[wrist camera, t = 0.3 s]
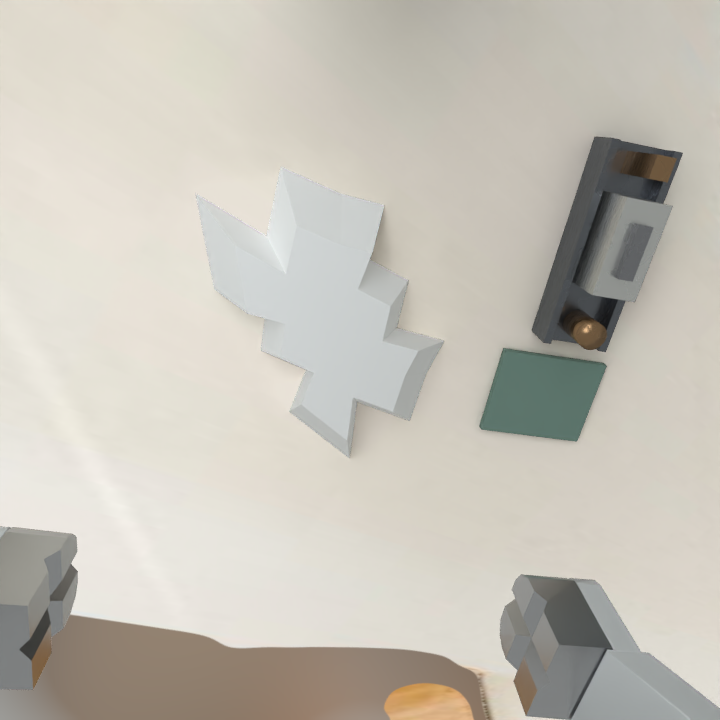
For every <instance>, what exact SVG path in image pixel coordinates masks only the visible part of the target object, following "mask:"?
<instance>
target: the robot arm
mask: <svg viewBox="0 0 720 720" xmlns="http://www.w3.org/2000/svg"><path fill="white" fill-rule="evenodd" d="M76 553H77V537H76V536H75V535H74V534H70V533H61V532H52V531H43V530H35V529H26V528H17V527H12V528H10V527H2V526H0V689H12V690H33V689H34V687H35V685H36V683H37V681H38V679H39V677H40V675H41V673H42V671H43V669H44V667H45V665H46V663H47V661H48V659H49V657H50V655H51V653H52V645H51V637H52V636H54V635H55V634H56V633H58V632H59V631H61V630H62V629H63V628H64V626H65V624H66V622H67V620H68V617H69V615H70V613H71V610H72V606H73V603H74V600H75V597H76V590H77V583H78V571H77V570H76V569H75V568H74V567H73V566H72V564H71V563H72V561H73V559H74V557H75V555H76ZM512 591H513V594H514V596H515V599H514V600H513V601H512V602H510V603H509V604H508V605H506V606H505V608H504V611H503V614H502V617H501V620H500V639H501V645H502V649H503V652H504V655H505V658H506V659H507V660H508V661H509V662H510V663H511V664H512V665H513V666H514V667H515V668H516V669H517V673H516V676H515V679H514V684H515V687H516V689H517V692H518V695H519V698H520V701H521V703H522V706H523V709H524V712H525V715H526V716H531V717H543V718H555V719H567V720H720V708H719V707H717V706H716V705H715V704H714V703H712V702H711V701H710V700H708V699H707V698H706V697H705V696H703V695H702V694H701V693H700V692H698V691H697V690H696V689H694V688H693V687H692V686H691V685H689V684H688V683H687V682H685V681H684V680H683V679H682V678H680V677H679V676H678V675H677V674H675V673H674V672H673V671H671V670H670V669H669V668H668V667H666V666H665V665H664V664H663V663H661V662H660V661H659V660H657V659H656V658H655V657H654V656H652V655H651V654H650V653H646V652H641V651H640V649H639V648H638V646H637V644H636V643H635V641H634V639H633V638H632V636H631V634H630V633H629V631H628V629H627V628H626V626H625V625H624V623H623V621H622V620H621V618H620V616H619V615H618V613H617V611H616V610H615V608H614V607H613V605H612V603H611V602H610V600H609V598H608V597H607V595H606V593H605V592H604V590H603V588H602V587H601V585H600V584H599V583H597V582H596V581H595V580H587V579H573V578H569V579H567V578H558V577H546V576H533V575H520V576H519V577H518V578H517V579H516V580H515V583H514V585H513V587H512Z"/></svg>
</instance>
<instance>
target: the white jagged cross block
mask: <svg viewBox="0 0 720 720" xmlns="http://www.w3.org/2000/svg"><path fill="white" fill-rule="evenodd" d="M195 194H196V193H195ZM196 200H197V205H198V210H199V215H200V220H201V225H202V230H203V235H204V240H205V245H206V250H207V255H208V260H209V265H210V270H211V275H212V280H213V285H214V289H215V290H216V291H217V292H219V293H220V294H221V295H223V296H224V297H226V298H227V299H228V300H230V301H231V302H232V303H234V304H235V305H236V306H238V307H239V308H240V309H242V310H243V311H244V312H246V313H247V314H251V315H255V316H258V317H262V318H265V320H264V328H263V336H262V344H261V351H263V352H266V353H268V354H270V355H273V356H275V357H277V358H280V359H282V360H284V361H286V362H289V363H291V364H293V365H296V366H298V367H300V368H303V369H305V370H306V371H305V373H304V376H303V378H302V381H301V383H300V386H299V388H298V391H297V393H296V396H295V398H294V401H293V403H292V406H291V408H290V411H289V412H290V413H292V414H293V415H294V416H296V417H297V418H298V419H299V420H301V421H302V422H303V423H305V424H306V425H307V426H308V427H310V428H311V429H312V430H314V431H315V432H316V433H317V434H319V435H320V436H321V437H323V438H324V439H325V440H326V441H328V442H329V443H330V444H332V445H333V446H334V447H335V448H337V449H338V450H339V451H341V452H342V453H343V454H344V455H346V456H347V457H348V458H350V452H351V444H352V437H353V430H354V422H355V415H356V408H357V402H359V403H361V404H364V405H367V406H370V407H372V408H375V409H378V410H381V411H383V412H386V413H389V414H392V415H394V416H397V417H400V418H403V419H405V420H408V421H410V418H411V415H412V413H413V410H414V407H415V404H416V401H417V398H418V396H419V393H420V390H421V387H422V384H423V381H424V379H425V376H426V373H427V371H428V370H429V368H430V366H431V364H432V362H433V360H434V359H435V357H436V355H437V353H438V351H439V350H440V348H441V346H442V344H443V342H444V340H440V339H436V338H433V337H429V336H425V335H422V334H418V333H414V332H411V331H407V330H403V329H400V328H397V325H398V321H399V317H400V313H401V309H402V305H403V301H404V297H405V293H406V289H407V285H408V281H409V280H407V279H406V278H404V277H402V276H400V275H398V274H396V273H394V272H392V271H390V270H389V269H387V268H385V267H383V266H381V265H379V264H377V263H375V262H374V261H372V260H370V257H371V255H372V252H373V248H374V245H375V241H376V237H377V233H378V229H379V225H380V221H381V217H382V213H383V209H384V206H385V205H382V204H379V203H375V202H371V201H367V200H363V199H359V198H356V197H352V196H348V195H344V194H341V193H339V192H337V191H334V190H332V189H330V188H328V187H325V186H323V185H321V184H319V183H317V182H314V181H312V180H310V179H308V178H305V177H303V176H301V175H299V174H297V173H294V172H292V171H290V170H288V169H285V168H283V167H281V168H280V173H279V177H278V182H277V187H276V192H275V197H274V202H273V207H272V211H271V216H270V221H269V226H268V231H267V235H265V234H263V233H262V232H260V231H258V230H257V229H255V228H253V227H252V226H250V225H248V224H247V223H245V222H243V221H242V220H240V219H238V218H237V217H235V216H233V215H232V214H230V213H228V212H227V211H225V210H223V209H221V208H220V207H218V206H216V205H215V204H213V203H211V202H210V201H208V200H206V199H205V198H203V197H201V196H200V195H198V194H196Z"/></svg>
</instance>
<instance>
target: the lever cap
mask: <svg viewBox="0 0 720 720" xmlns="http://www.w3.org/2000/svg"><path fill="white" fill-rule="evenodd" d="M672 207H673V206H671V205H667V204H663V203H659V202H655V201H651V200H648V199H644V198H639V197H634V196H629V195H624V194H619V193H613V192H608V191H603V193H602V196H601V199H600V202H599V205H598V208H597V211H596V214H595V216H594V219H593V222H592V225H591V228H590V231H589V234H588V237H587V240H586V243H585V246H584V248H583V251H582V254H581V257H580V260H579V263H578V266H577V269H576V272H575V275H574V277H573V280H572V282H573V283H574V284H576V285H577V286H579V287H581V288H582V289H584V290H585V291H587V292H588V293H590V294H591V295H595V296H601V297H607V298H613V299H619V300H625V301H631V302H635V301H636V298H637V296H638V293H639V290H640V288H641V285H642V283H643V280H644V278H645V275H646V273H647V270H648V268H649V265H650V263H651V260H652V258H653V255H654V253H655V250H656V247H657V245H658V242H659V240H660V237H661V235H662V232H663V230H664V227H665V225H666V222H667V220H668V217H669V215H670V212H671V210H672Z"/></svg>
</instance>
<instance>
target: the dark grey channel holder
mask: <svg viewBox="0 0 720 720" xmlns="http://www.w3.org/2000/svg"><path fill="white" fill-rule="evenodd" d="M682 154H683V153H681V152H676V151H668V150H662V149H657V148H652V147H648V146H643V145H638V144H633V143H629V142H624V141H621V140H619V139H614V138H605V137H594V141H593V144H592V147H591V150H590V153H589V156H588V159H587V162H586V165H585V168H584V171H583V174H582V177H581V180H580V183H579V187H578V190H577V193H576V196H575V199H574V202H573V205H572V208H571V211H570V214H569V217H568V220H567V223H566V226H565V229H564V232H563V236H562V239H561V242H560V245H559V248H558V251H557V254H556V257H555V260H554V263H553V266H552V269H551V272H550V275H549V278H548V282H547V285H546V288H545V291H544V294H543V297H542V300H541V303H540V306H539V309H538V312H537V315H536V318H535V321H534V324H533V328H532V332H533V333H534V334H535V335H536V336H537V337H538V338H539V339H540V340H541V341H542V342H543V343H549V344H551V341H552V339H553V340H559V341H566V342H572V343H578V344H579V345H581V346H582V347H583V348H585V349H587V350H593V349H597V350H598V351H602V352H606V350H607V347H608V345H609V342H610V339H611V337H612V334H613V332H614V329H615V327H616V324H617V321H618V319H619V316H620V314H621V311H622V309H623V306H624V303H625V300H619V299H613V298H607V297H601V296H595V295H591V294H590V293H588V292H587V291H585V290H584V289H582V288H581V287H579V286H577V285H576V284H574V283H573V282H572V280H573V277H574V275H575V272H576V269H577V266H578V263H579V260H580V257H581V254H582V251H583V248H584V246H585V243H586V240H587V237H588V234H589V231H590V228H591V225H592V222H593V219H594V216H595V214H596V211H597V208H598V205H599V202H600V199H601V196H602V193H603V191H608V192H613V193H619V194H624V195H629V196H634V197H639V198H644V199H648V200H651V201H655V202H659V203H664V200H665V198H666V195H667V193H668V190H669V188H670V185H671V182H672V180H673V177H674V175H675V172H676V170H677V167H678V164H679V162H680V159H681V157H682Z"/></svg>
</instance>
